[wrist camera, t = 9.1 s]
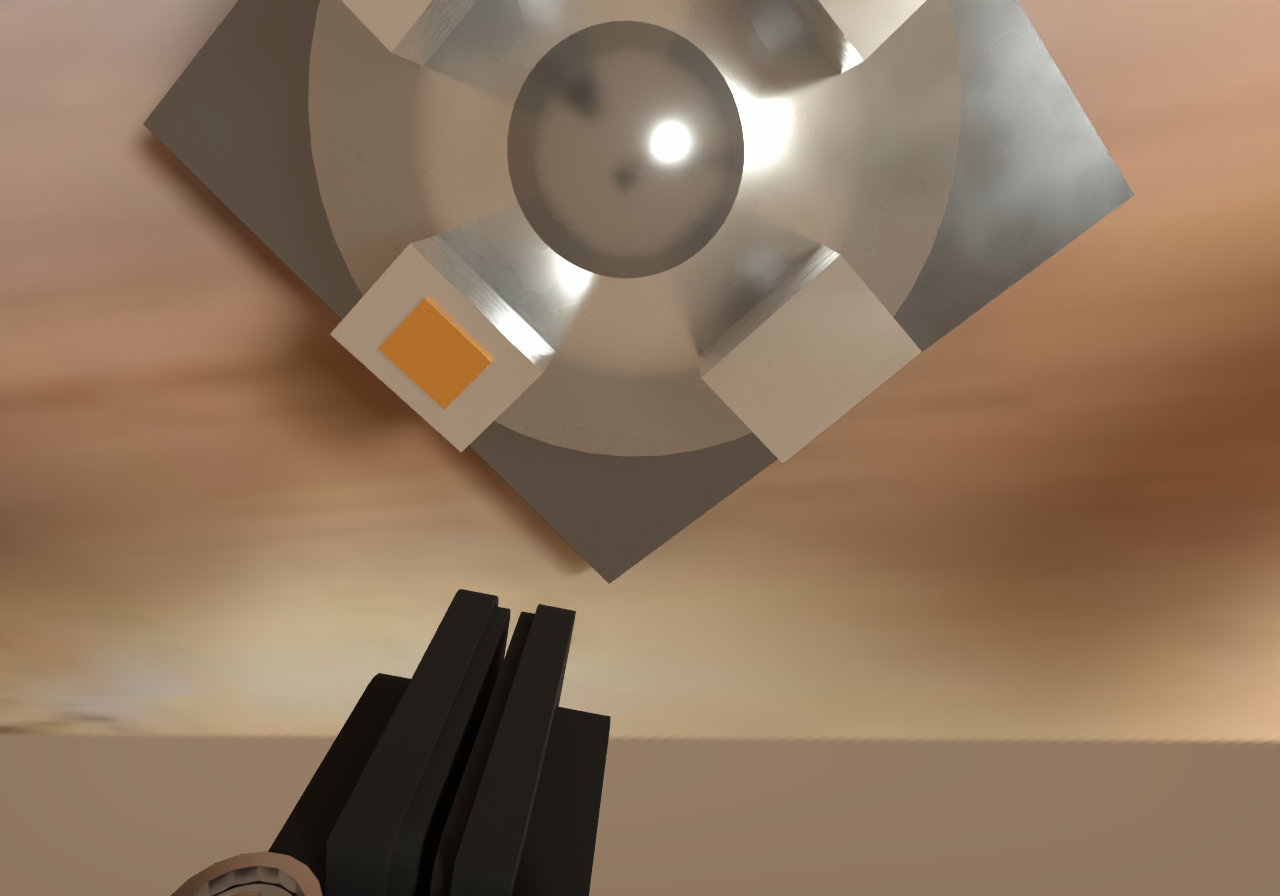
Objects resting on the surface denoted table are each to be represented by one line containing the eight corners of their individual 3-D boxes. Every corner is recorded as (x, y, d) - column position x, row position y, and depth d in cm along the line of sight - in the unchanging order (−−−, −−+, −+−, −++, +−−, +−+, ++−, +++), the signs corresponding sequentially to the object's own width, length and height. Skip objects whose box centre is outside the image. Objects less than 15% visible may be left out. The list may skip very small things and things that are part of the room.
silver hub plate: (1050, 168, 22) (1154, 168, 17) (627, 523, 27) (619, 598, 22) (642, -406, 17) (632, -617, 13) (231, 150, 22) (115, 146, 18)
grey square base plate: (675, -492, 18) (676, -576, 16) (1097, 192, 24) (1137, 195, 22) (183, 127, 24) (138, 123, 22) (613, 557, 30) (608, 586, 28)
